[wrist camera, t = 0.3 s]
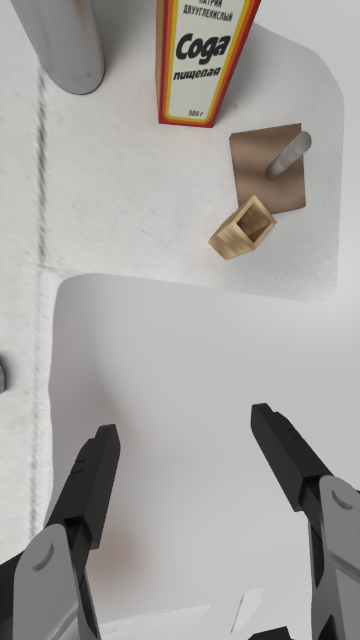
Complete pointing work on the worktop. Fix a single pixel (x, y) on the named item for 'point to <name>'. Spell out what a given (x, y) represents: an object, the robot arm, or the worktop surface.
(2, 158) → the worktop surface
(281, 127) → the plate
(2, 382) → the padlock
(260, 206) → the wooden holder box
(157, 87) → the baking soda box
